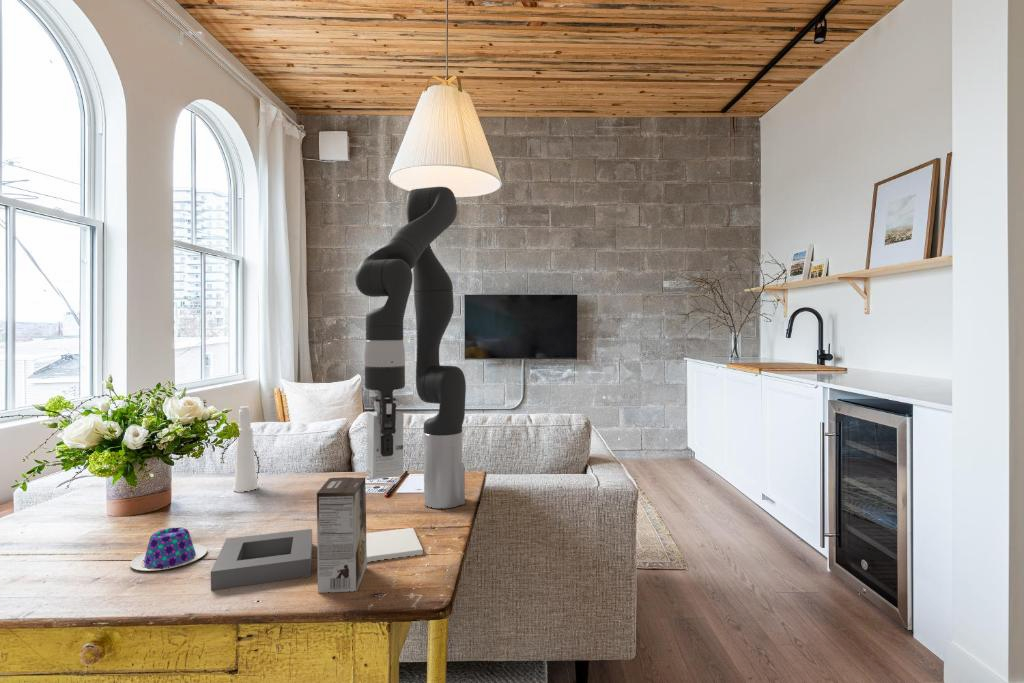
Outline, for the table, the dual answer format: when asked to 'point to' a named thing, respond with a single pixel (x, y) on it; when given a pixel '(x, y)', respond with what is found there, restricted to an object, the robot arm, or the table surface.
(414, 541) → the white mat
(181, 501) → the table surface
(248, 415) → the cosmetic bottle
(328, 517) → the coffee box
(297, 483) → the table surface
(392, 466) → the skincare box
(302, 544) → the grey square frame
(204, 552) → the purple patterned hat
